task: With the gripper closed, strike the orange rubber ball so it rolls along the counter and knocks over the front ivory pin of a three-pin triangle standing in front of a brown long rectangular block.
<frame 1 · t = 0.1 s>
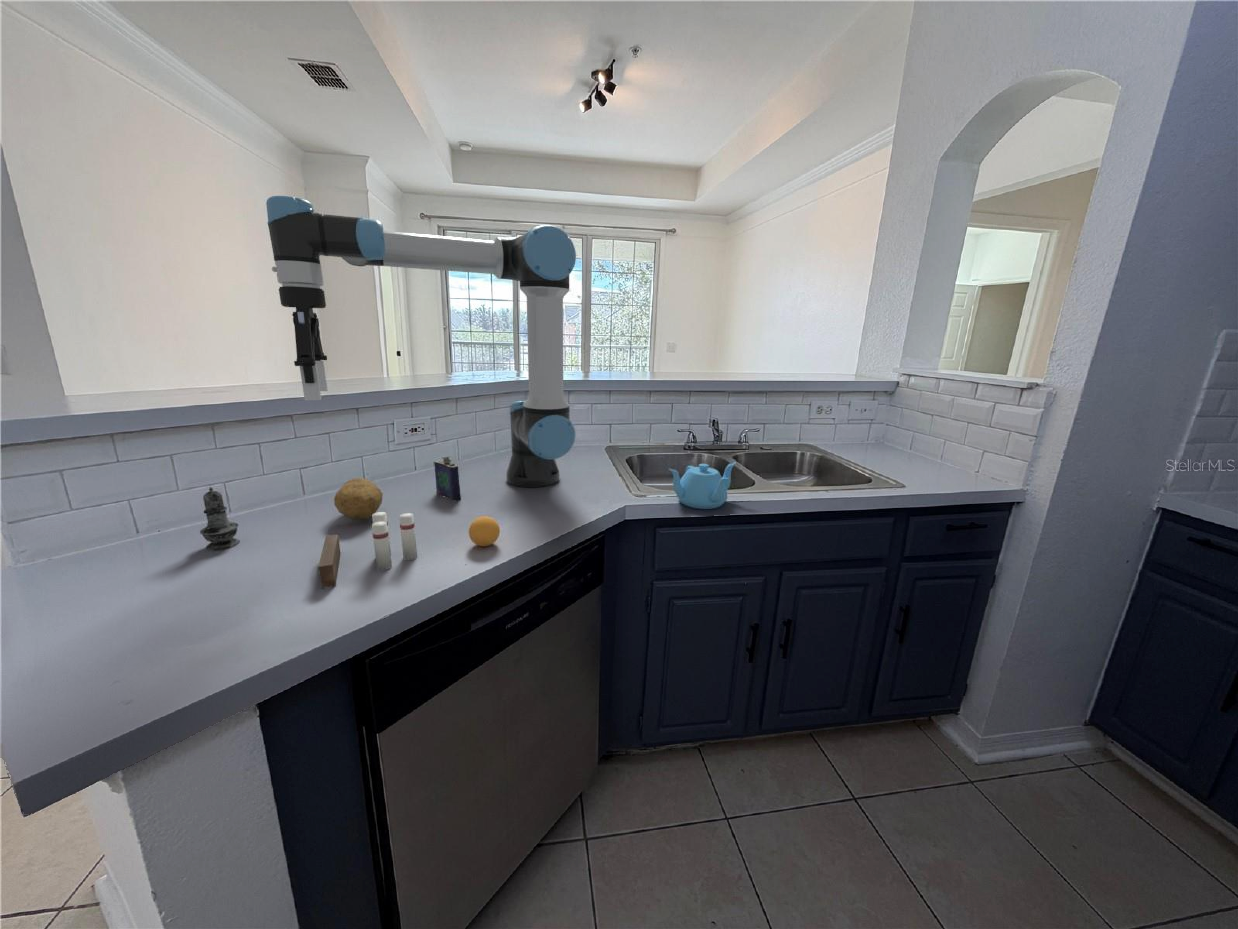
hand: (317, 395, 100), 28 cm above the worktop, tool pointing down, fingers open, 13 cm apart
brown long rectangular block: (331, 569, 87), on the worktop
left back pin: (384, 567, 88), on the worktop
teapot: (703, 504, 125), on the worktop
front pin: (410, 557, 92), on the worktop
potato: (361, 517, 110), on the worktop
salt shaker: (223, 545, 95), on the worktop
ball: (484, 531, 97), on the worktop
flask: (449, 497, 125), on the worktop
right back pin: (384, 555, 92), on the worktop
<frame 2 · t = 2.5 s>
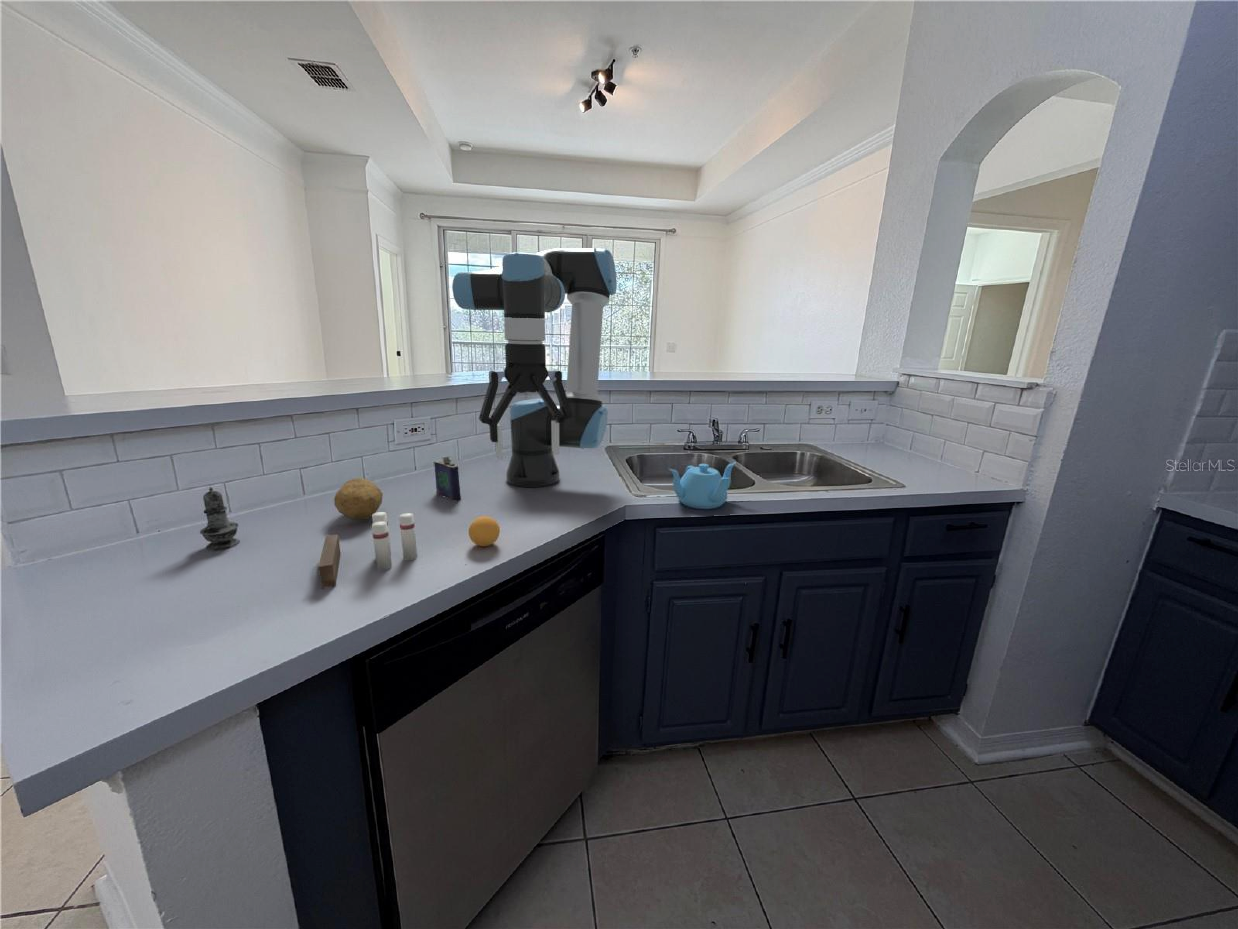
hand: (528, 455, 97), 18 cm above the worktop, tool pointing down, fingers open, 11 cm apart
nothing on the worktop moved.
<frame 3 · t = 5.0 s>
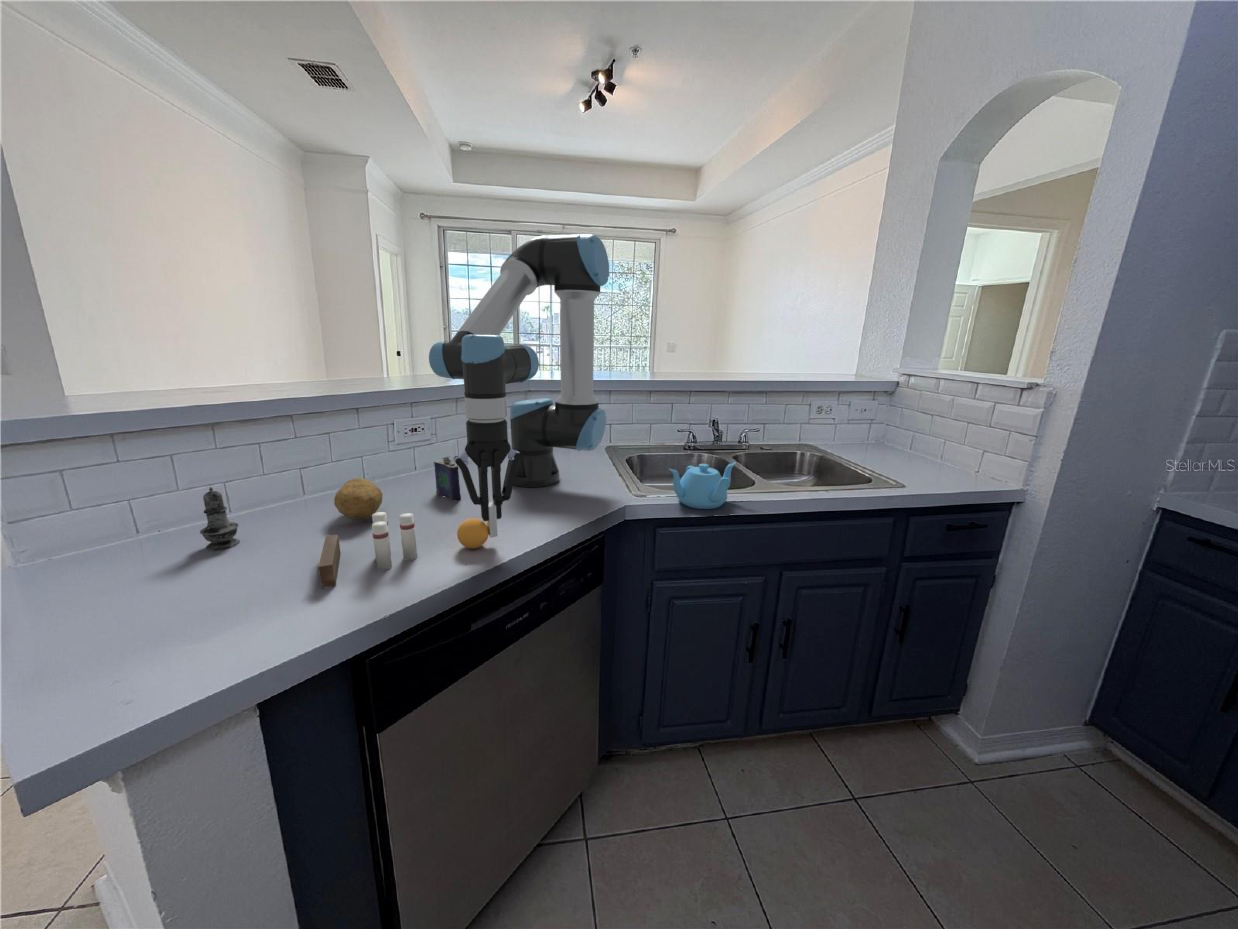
hand: (492, 534, 97), 2 cm above the worktop, tool pointing down, fingers closed
ball: (473, 533, 96), on the worktop, touching gripper
everything else where it was.
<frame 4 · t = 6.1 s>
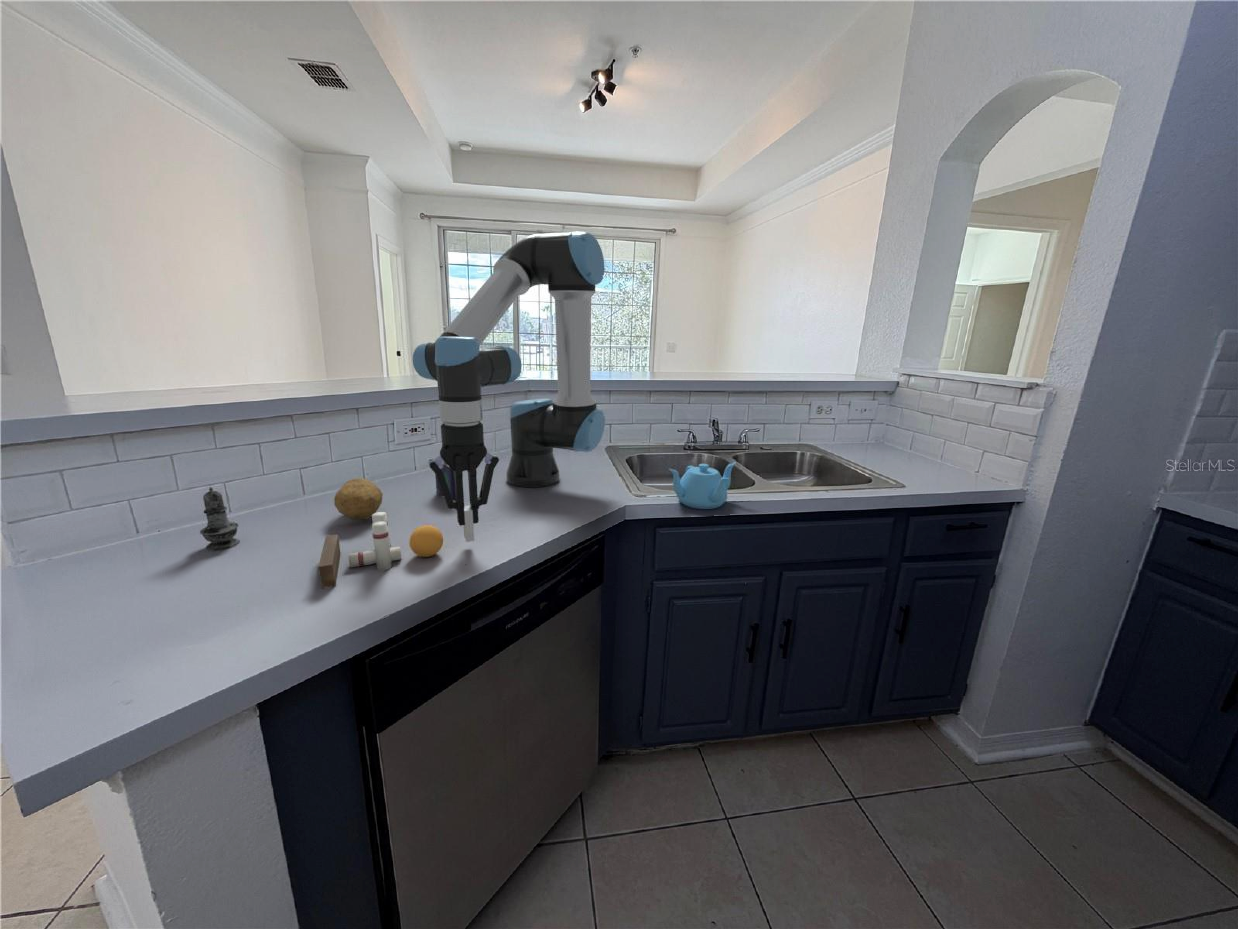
hand: (469, 538, 96), 2 cm above the worktop, tool pointing down, fingers closed
front pin: (400, 552, 91), point 1 cm above the worktop, tilted 90°
ball: (426, 540, 92), on the worktop
everything else where it was.
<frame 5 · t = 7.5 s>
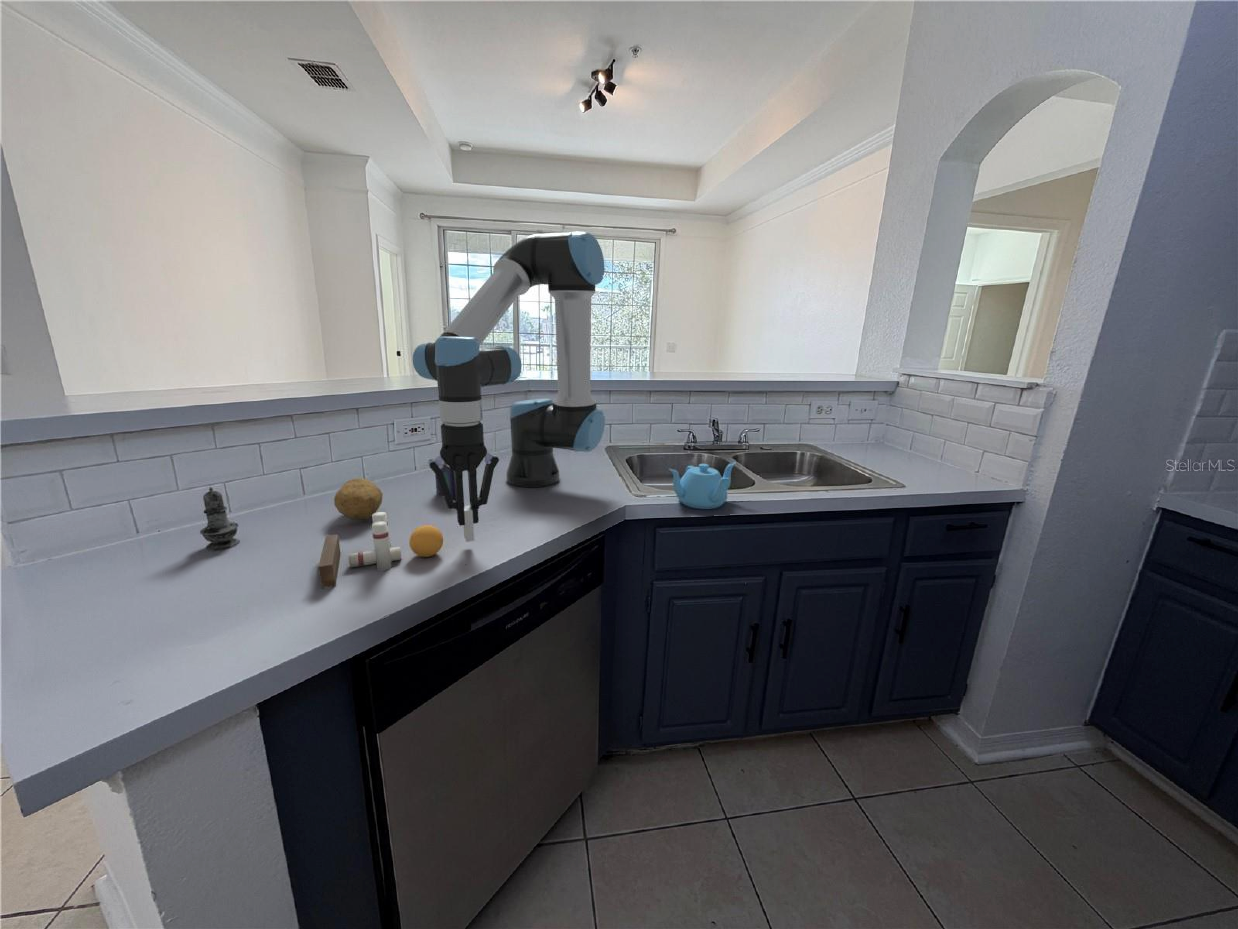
hand: (469, 538, 96), 2 cm above the worktop, tool pointing down, fingers closed
nothing on the worktop moved.
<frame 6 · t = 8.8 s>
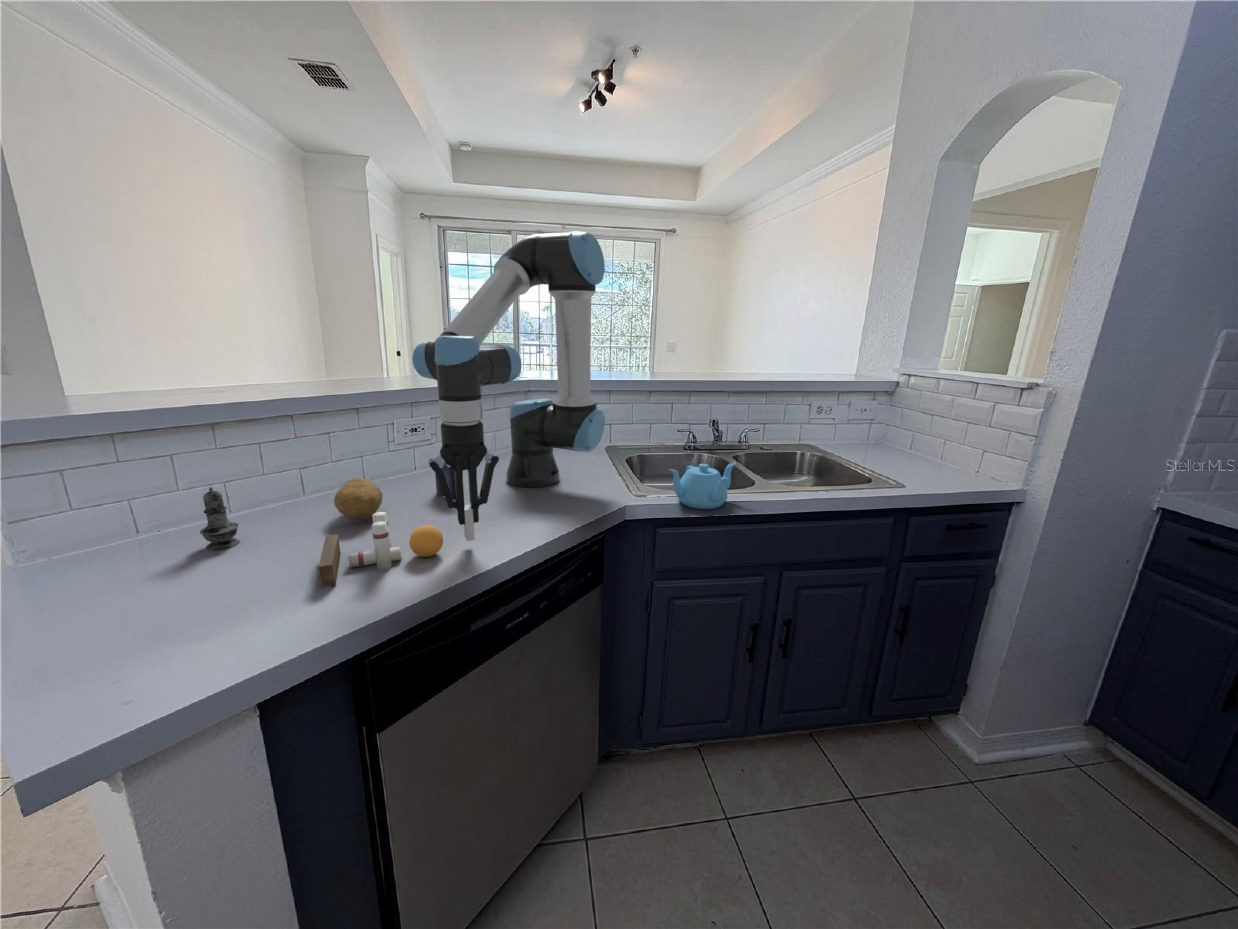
hand: (469, 537, 96), 2 cm above the worktop, tool pointing down, fingers closed
nothing on the worktop moved.
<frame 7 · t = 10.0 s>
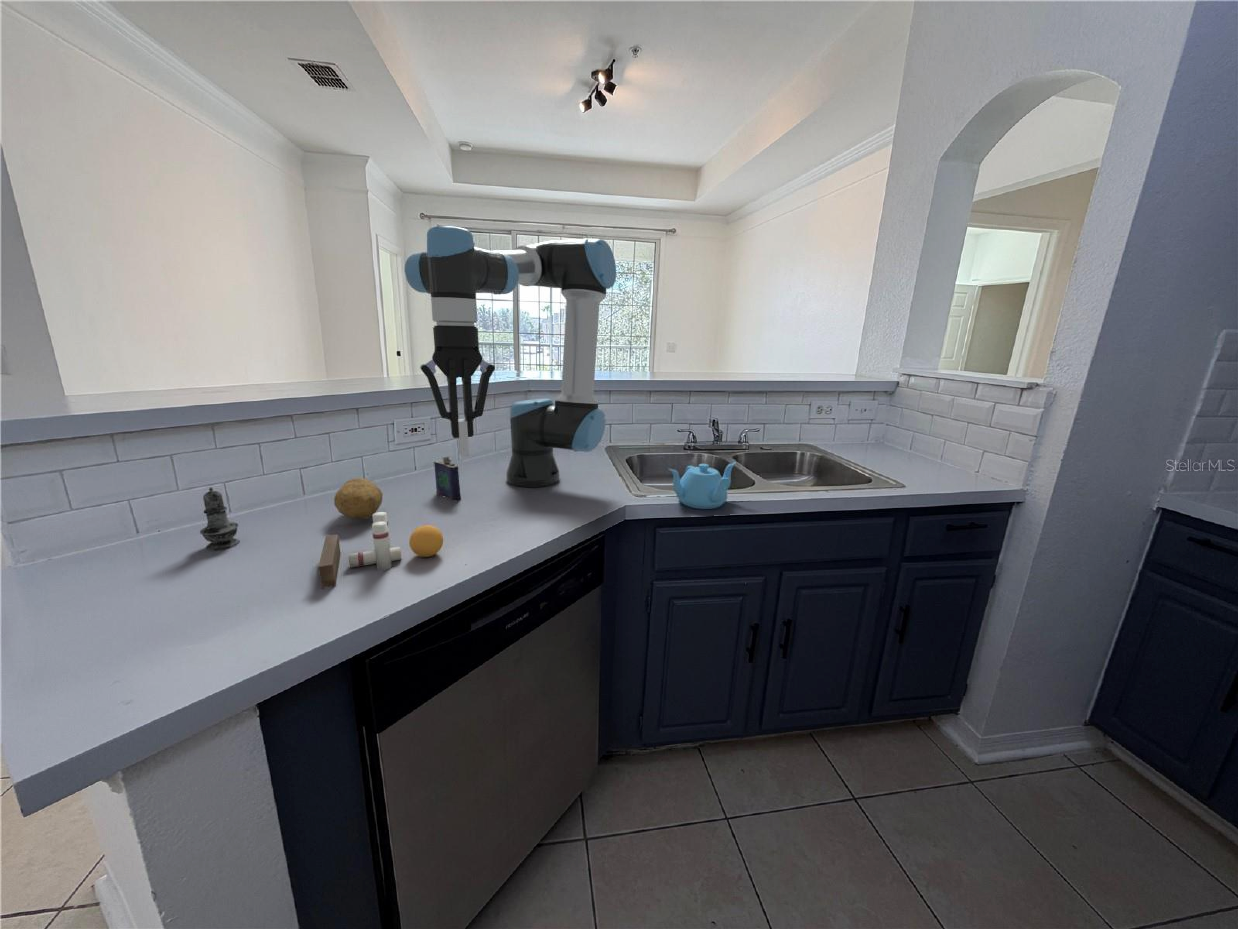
hand: (463, 453, 91), 19 cm above the worktop, tool pointing down, fingers closed
nothing on the worktop moved.
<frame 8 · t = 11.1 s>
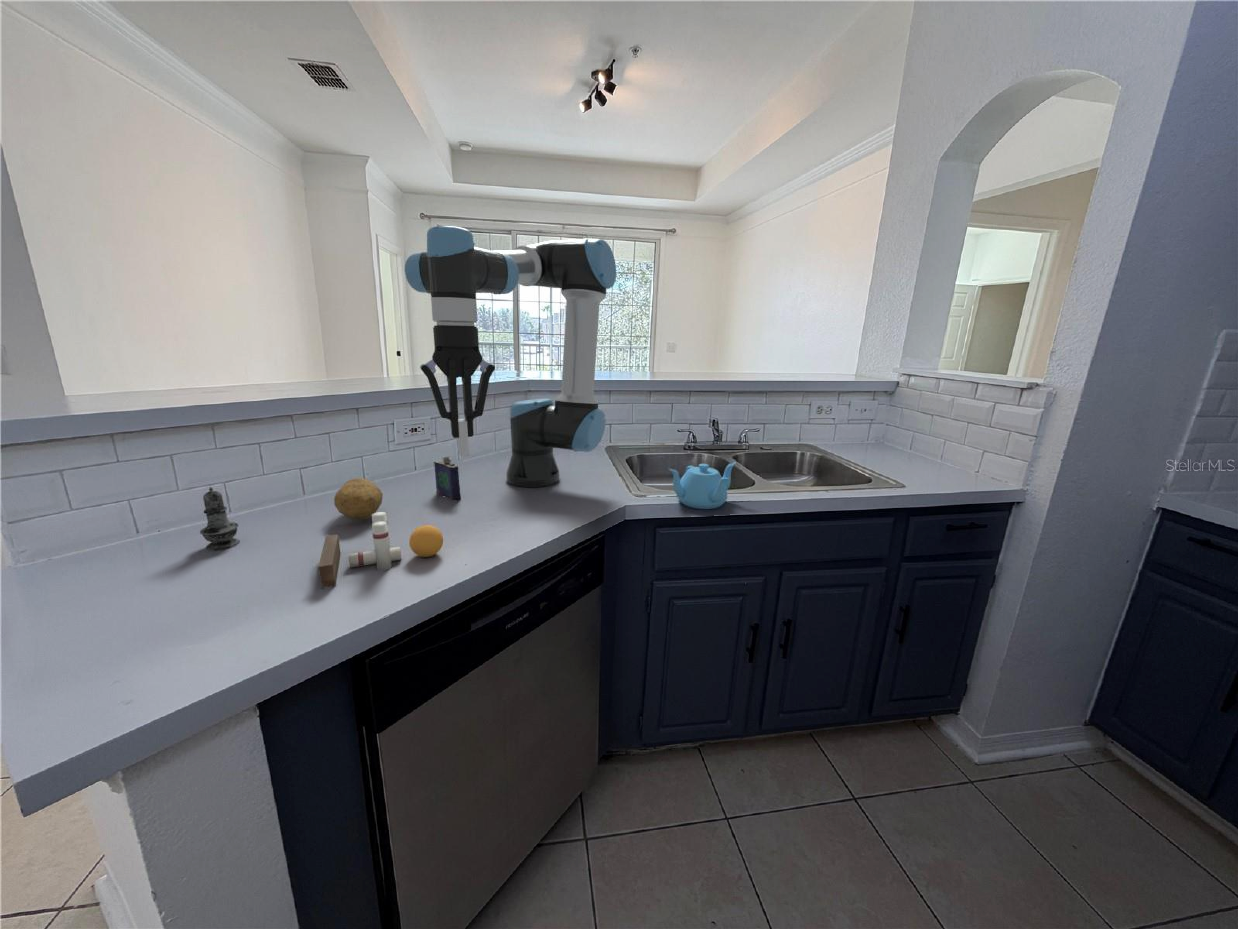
hand: (463, 453, 91), 19 cm above the worktop, tool pointing down, fingers closed
nothing on the worktop moved.
at the end: front pin tilted 90°; front pin never touched the robot; ball moved 10.9 cm from its start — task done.
